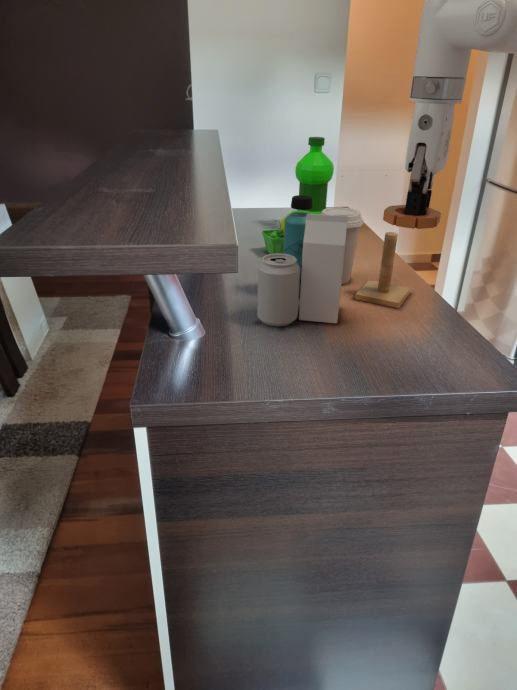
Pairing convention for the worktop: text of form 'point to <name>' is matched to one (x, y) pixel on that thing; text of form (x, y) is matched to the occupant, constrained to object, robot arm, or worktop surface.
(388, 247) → the post
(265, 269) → the can
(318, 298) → the milk carton
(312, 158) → the plastic bottle
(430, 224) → the ring
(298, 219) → the beverage bottle
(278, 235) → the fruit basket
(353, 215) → the coffee cup
